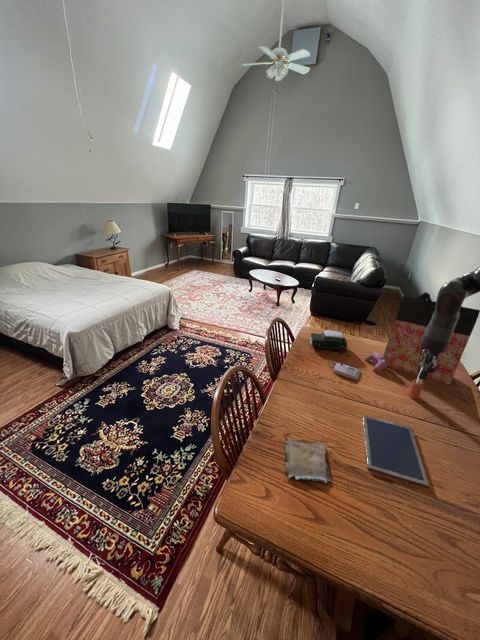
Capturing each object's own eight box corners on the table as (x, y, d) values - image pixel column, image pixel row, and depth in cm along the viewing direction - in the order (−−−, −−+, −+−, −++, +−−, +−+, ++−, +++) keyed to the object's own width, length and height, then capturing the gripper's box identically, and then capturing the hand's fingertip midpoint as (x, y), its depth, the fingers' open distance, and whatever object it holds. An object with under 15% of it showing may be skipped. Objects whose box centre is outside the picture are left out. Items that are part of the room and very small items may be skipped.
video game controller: (380, 375, 118) (391, 364, 115) (372, 371, 117) (383, 359, 114) (370, 363, 127) (380, 351, 124) (362, 359, 126) (372, 347, 123)
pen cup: (416, 395, 105) (422, 380, 102) (418, 401, 101) (425, 386, 98) (406, 393, 106) (412, 378, 103) (408, 398, 102) (414, 384, 99)
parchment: (284, 478, 71) (285, 476, 71) (284, 438, 83) (284, 436, 82) (332, 486, 70) (333, 484, 69) (325, 444, 81) (325, 442, 81)
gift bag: (446, 370, 121) (479, 298, 106) (450, 387, 110) (487, 309, 95) (376, 351, 134) (396, 283, 119) (372, 364, 123) (395, 292, 108)
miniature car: (308, 340, 141) (311, 326, 138) (344, 344, 139) (347, 330, 135) (309, 348, 133) (312, 334, 130) (347, 353, 131) (351, 339, 127)
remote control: (362, 382, 110) (363, 376, 109) (324, 369, 117) (325, 363, 116) (364, 374, 115) (366, 368, 114) (328, 362, 123) (329, 357, 121)
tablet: (410, 429, 89) (411, 427, 88) (428, 488, 71) (429, 485, 70) (362, 416, 93) (362, 414, 92) (367, 469, 75) (368, 467, 74)
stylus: (416, 393, 103) (427, 365, 98) (417, 396, 102) (429, 367, 96) (411, 392, 104) (422, 364, 98) (412, 394, 102) (423, 366, 97)
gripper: (457, 347, 85) (438, 390, 92) (443, 329, 97) (427, 369, 104) (430, 343, 87) (414, 385, 95) (420, 326, 99) (405, 365, 106)
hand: (421, 376), depth 99 cm, fingers closed on stylus, 2 cm apart
